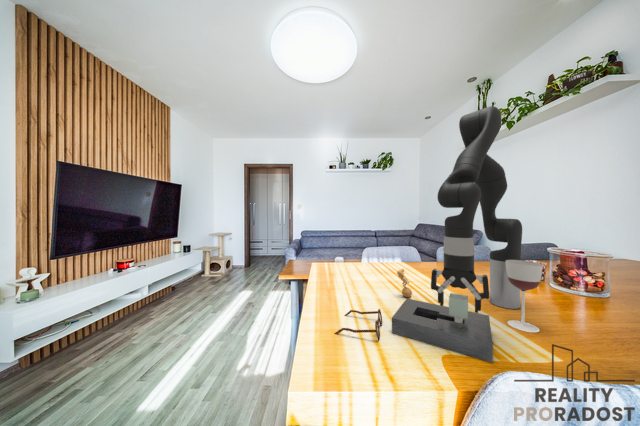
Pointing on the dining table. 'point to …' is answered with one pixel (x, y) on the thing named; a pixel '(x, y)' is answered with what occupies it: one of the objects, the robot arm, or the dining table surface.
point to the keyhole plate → (445, 329)
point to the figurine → (405, 290)
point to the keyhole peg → (458, 307)
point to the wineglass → (523, 286)
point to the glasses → (365, 330)
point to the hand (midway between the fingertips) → (458, 308)
